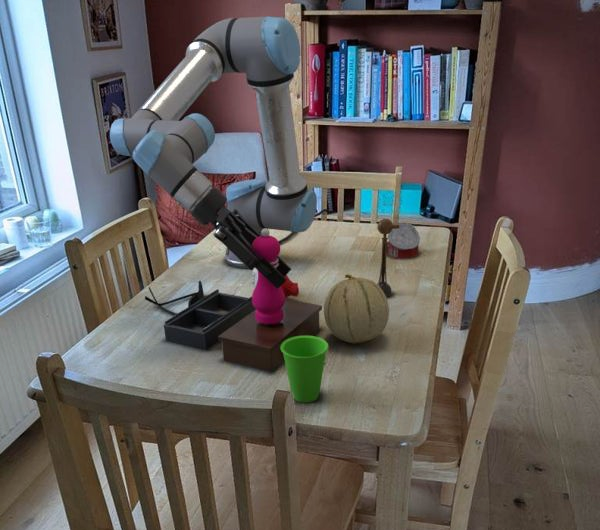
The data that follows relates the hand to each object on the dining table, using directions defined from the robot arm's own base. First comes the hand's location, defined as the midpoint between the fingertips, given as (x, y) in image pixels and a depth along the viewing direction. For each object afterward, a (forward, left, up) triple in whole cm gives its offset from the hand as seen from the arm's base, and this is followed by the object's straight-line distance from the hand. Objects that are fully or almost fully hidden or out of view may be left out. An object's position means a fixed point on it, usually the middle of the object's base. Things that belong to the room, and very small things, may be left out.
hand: (284, 278), depth 135 cm
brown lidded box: (0, -3, -16) cm, 16 cm away
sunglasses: (-8, -37, -16) cm, 41 cm away
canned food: (-71, +2, -16) cm, 73 cm away
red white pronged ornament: (-23, -16, -16) cm, 32 cm away
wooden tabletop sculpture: (-38, +9, -16) cm, 42 cm away
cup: (+17, +14, -16) cm, 27 cm away
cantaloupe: (-10, +13, -16) cm, 23 cm away
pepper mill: (+1, -3, -10) cm, 10 cm away
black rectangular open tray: (-2, -21, -16) cm, 27 cm away
